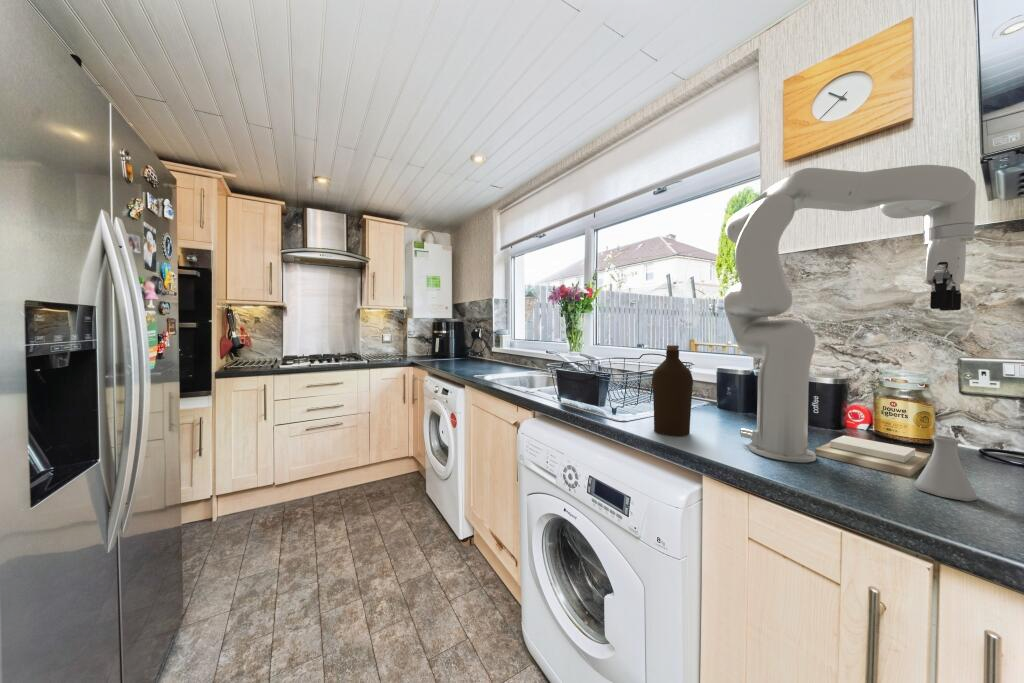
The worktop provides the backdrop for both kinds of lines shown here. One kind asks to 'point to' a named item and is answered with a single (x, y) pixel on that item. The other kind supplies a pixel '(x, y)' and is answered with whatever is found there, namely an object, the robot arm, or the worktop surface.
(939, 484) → the flask
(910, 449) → the tile
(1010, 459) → the worktop surface
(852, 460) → the board
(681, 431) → the olive oil
